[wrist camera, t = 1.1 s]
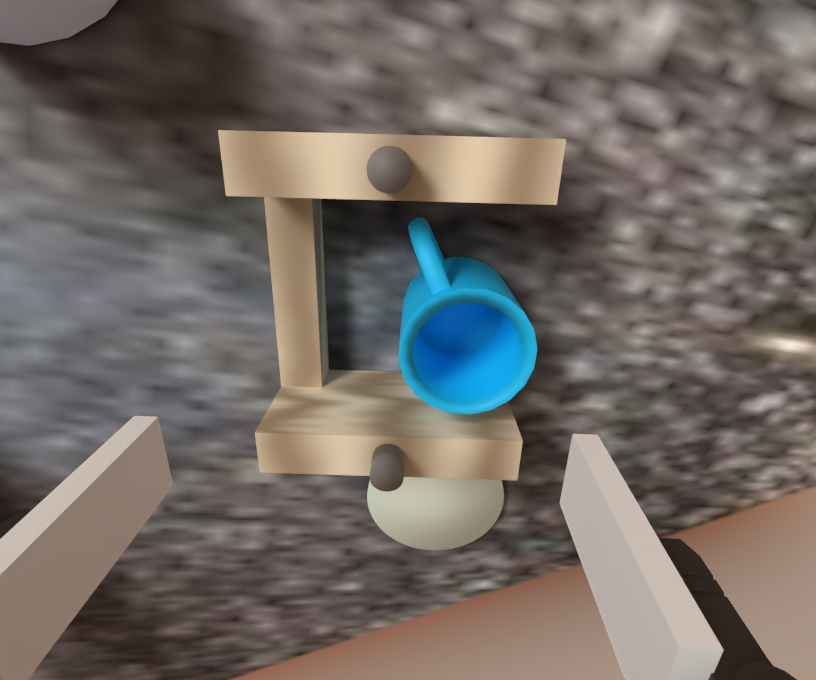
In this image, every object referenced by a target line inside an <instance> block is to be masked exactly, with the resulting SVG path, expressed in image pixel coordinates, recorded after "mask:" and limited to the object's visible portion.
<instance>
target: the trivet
mask: <svg viewBox="0 0 816 680" xmlns="http://www.w3.org/2000/svg"><path fill="white" fill-rule="evenodd" d="M367 500H368V506H369V510H370V513H371V515H372V517H373V519H374V521H375V522H376V524H377V525H378V526H379V527H380V528H381V530H383V531H384V532H385V533H386V534H387V535H388V536H390V537H391V538H393V539H394V540H396V541H398V542H400V543H402V544H405V545H407V546H410V547H414V548H418V549H423V550H447V549H452V548H457V547H460V546H463V545H466V544H468V543H471V542H473V541H474V540H476V539H478V538H480V537H481V536H482V535H484V534H485V533H486V532H487V531H488V530H489V529H490V528H491V527H492V526H493V525H494V523H495V522H496V521H497V519H498V517H499V515H500V513H501V510H502V507H503V503H504V489H503V484H502V480H487V479H456V478H424V477H404V478H403V483H402V485H401V486H400V487H399V488H398V489H396V490H394V491H389V492H385V491H380V490H378V489H376V488H375V487H374V486H373V485H372V484H371V482H370V480H369V485H368V493H367Z"/></svg>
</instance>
